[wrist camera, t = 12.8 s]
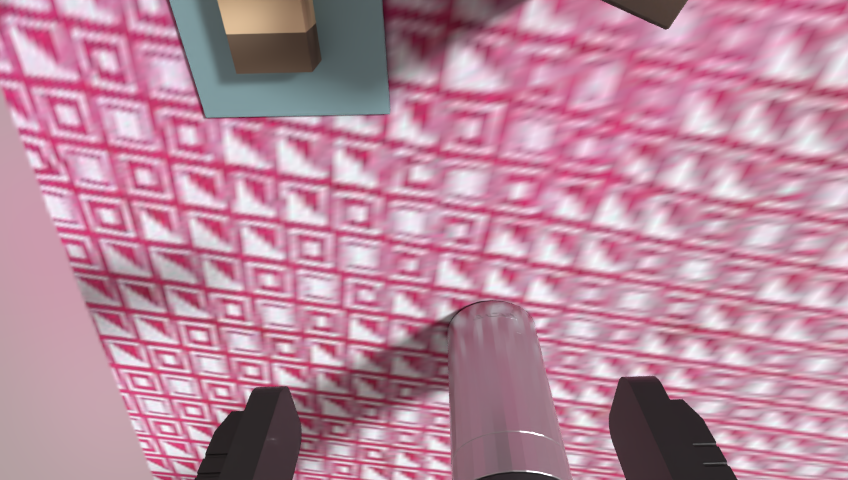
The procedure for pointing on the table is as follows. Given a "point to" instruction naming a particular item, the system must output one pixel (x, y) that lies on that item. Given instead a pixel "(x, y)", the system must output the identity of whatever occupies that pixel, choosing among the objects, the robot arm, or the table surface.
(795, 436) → the table surface
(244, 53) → the tan block
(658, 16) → the coffee box
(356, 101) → the teal mat
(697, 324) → the table surface
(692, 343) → the table surface
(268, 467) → the robot arm
